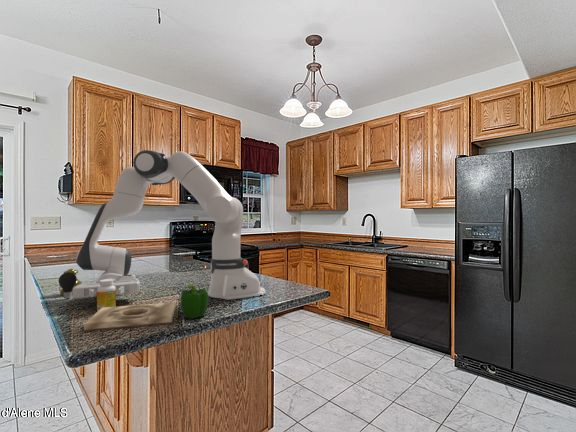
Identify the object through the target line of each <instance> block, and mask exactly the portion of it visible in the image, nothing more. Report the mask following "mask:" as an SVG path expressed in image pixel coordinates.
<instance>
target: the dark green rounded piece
mask: <svg viewBox="0 0 576 432" xmlns="http://www.w3.org/2000/svg"><path fill="white" fill-rule="evenodd" d="M67 272H71V273H73V274H75V275H76V276H77V274H78V273H79V270H77V269H75V268H69V269H68V270H65V271H63V274H64V273H67ZM80 284H83V282H82V281H81V280H79V279H78V278H77V281H76V284H75V285H74V287H75V286H77V285H80ZM59 287H60V289H59V296H62V297H64V292H63V289H62V287H61V286H60V285H59ZM74 287H73V288H74ZM72 296H73V290H72Z"/></svg>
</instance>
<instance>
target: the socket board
mask: <svg viewBox="0 0 576 432" xmlns="http://www.w3.org/2000/svg"><path fill="white" fill-rule="evenodd" d="M176 303H177V302H176V301H175V302H174V301H172V302H161V303H148V304H145V303H144V304H136V305H135V304H134V305H131V304H130V305H119V306H117V305H116V307H103V308H101V309H100V310H99V311H97V312H96V313H94V314H93V315H92V316H91V317H90V318H88V320H87V321H85V323H83V326H84V327H83V329H84V332H92V331H102V330H113V329H115V330H116V329H123V328H126V329H127V328H134V327H135V328H136V327H138V328H139V327H147V326H148V327H149V326H157V325H158V326H160V325H168V324H171V325H172V324H173V321H174V317H175V312H176V309H177V304H176Z"/></svg>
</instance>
